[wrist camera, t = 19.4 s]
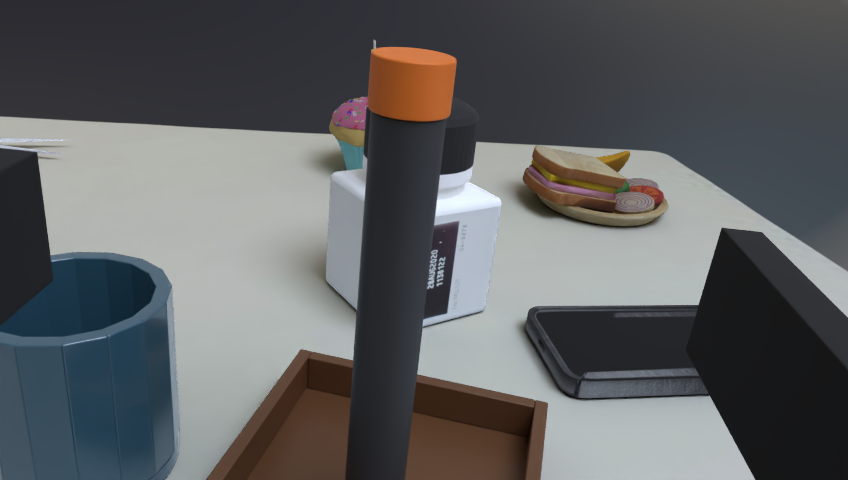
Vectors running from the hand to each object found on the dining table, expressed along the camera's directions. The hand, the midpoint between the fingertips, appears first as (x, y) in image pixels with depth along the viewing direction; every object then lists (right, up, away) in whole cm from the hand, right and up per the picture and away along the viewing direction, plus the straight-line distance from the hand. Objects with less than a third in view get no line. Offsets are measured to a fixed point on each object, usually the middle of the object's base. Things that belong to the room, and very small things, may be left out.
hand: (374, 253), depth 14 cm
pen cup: (-13, -9, +16) cm, 23 cm away
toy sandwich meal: (+17, +3, +51) cm, 54 cm away
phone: (+15, -7, +28) cm, 33 cm away
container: (0, -4, +32) cm, 32 cm away
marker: (-1, -11, +13) cm, 17 cm away
